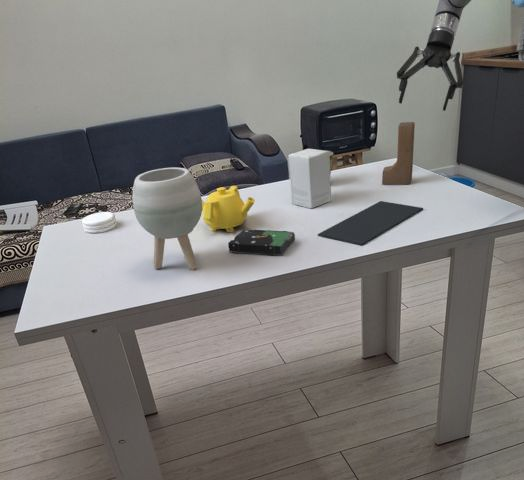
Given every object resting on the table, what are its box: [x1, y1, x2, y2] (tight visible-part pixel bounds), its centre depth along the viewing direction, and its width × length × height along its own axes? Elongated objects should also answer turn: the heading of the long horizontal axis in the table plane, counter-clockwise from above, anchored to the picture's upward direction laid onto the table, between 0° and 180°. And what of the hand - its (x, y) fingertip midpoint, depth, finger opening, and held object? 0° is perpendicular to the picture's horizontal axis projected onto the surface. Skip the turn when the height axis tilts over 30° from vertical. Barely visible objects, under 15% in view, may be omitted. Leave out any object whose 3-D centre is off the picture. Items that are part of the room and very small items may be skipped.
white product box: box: [288, 148, 332, 209], centre depth 162 cm, size 9×9×15 cm
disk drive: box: [227, 228, 296, 256], centre depth 139 cm, size 10×3×15 cm
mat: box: [317, 200, 424, 247], centre depth 146 cm, size 14×30×1 cm, turn 137°
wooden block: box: [381, 121, 416, 186], centre depth 169 cm, size 9×4×18 cm, turn 72°
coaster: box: [81, 211, 118, 234], centre depth 165 cm, size 10×10×4 cm
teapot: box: [202, 185, 255, 233], centre depth 152 cm, size 20×18×11 cm
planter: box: [132, 167, 203, 271], centre depth 130 cm, size 16×16×22 cm
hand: (422, 105), depth 166 cm, fingers open, 13 cm apart
